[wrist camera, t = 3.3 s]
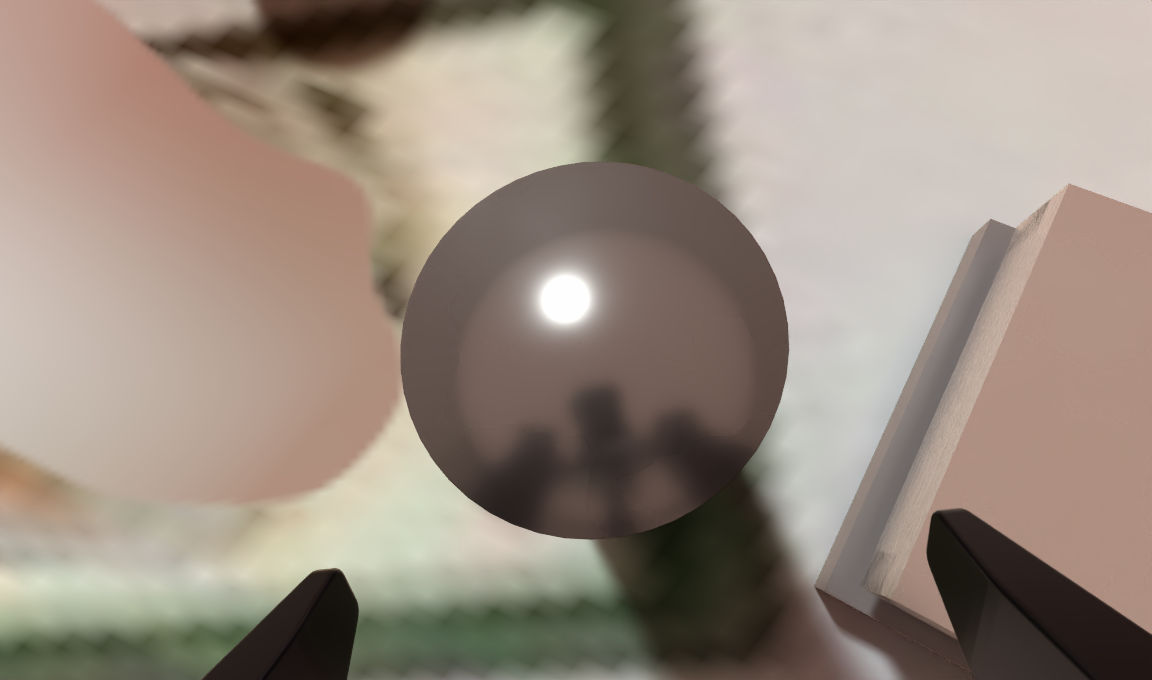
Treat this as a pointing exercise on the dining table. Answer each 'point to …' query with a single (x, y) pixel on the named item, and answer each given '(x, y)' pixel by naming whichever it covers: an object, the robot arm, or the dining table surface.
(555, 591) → the dining table surface
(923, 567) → the pan
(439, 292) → the cylinder
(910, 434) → the scale
